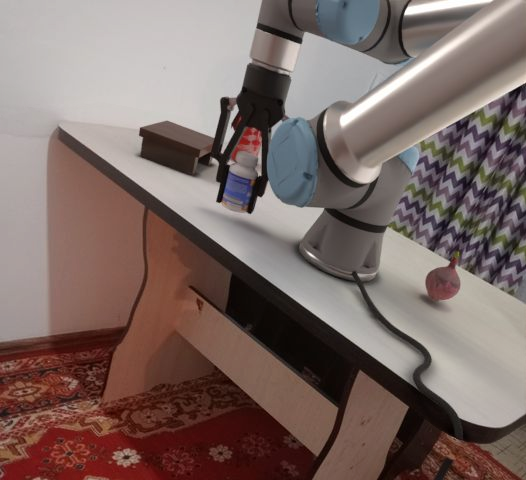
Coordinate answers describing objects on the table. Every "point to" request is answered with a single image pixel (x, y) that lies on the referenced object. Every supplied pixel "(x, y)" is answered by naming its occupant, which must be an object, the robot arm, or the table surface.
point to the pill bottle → (240, 182)
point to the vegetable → (443, 281)
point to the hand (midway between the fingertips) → (235, 206)
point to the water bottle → (247, 139)
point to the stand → (175, 146)
